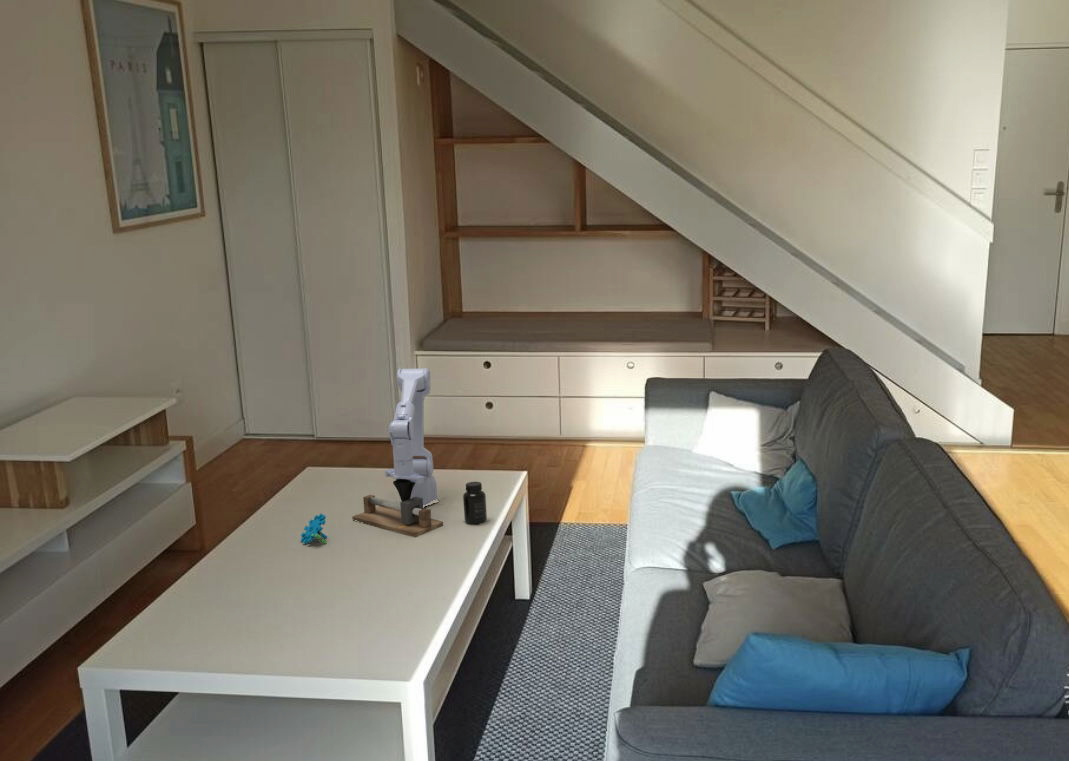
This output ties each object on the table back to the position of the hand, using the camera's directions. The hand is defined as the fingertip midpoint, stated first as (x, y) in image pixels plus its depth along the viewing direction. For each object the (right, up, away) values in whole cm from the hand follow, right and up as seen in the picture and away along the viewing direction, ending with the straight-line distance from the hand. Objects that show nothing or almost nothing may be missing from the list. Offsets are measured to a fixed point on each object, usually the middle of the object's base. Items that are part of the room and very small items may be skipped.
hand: (405, 502), depth 302 cm
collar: (+2, -5, 0) cm, 6 cm away
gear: (-25, -10, -9) cm, 29 cm away
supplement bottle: (+21, -6, +3) cm, 22 cm away
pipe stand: (-3, -7, +4) cm, 8 cm away
